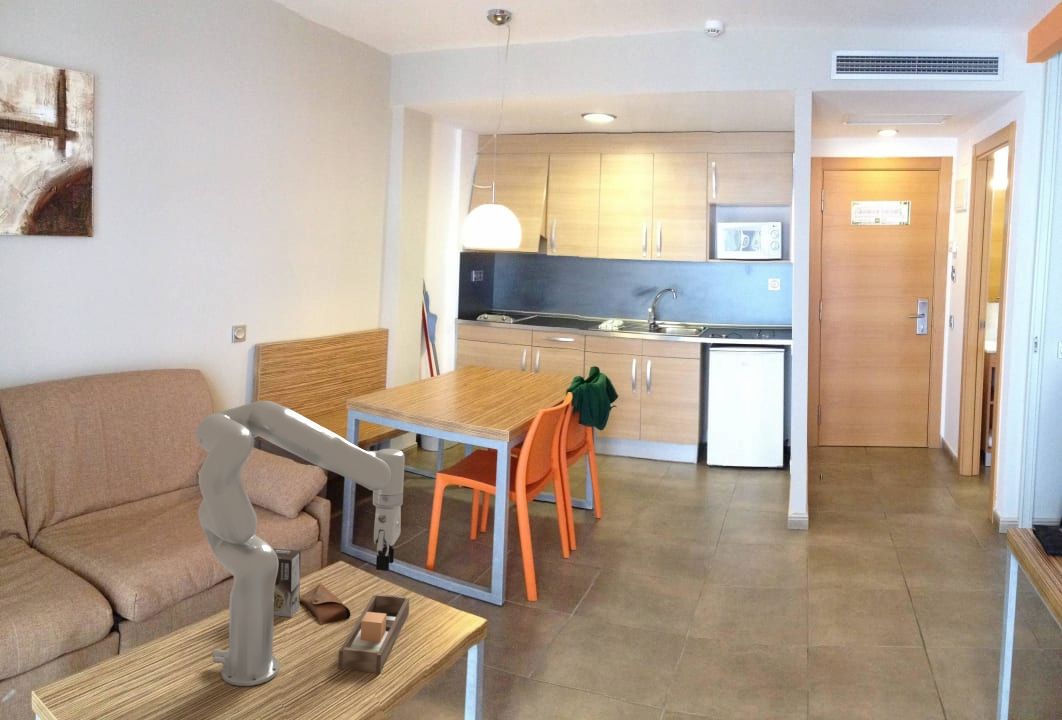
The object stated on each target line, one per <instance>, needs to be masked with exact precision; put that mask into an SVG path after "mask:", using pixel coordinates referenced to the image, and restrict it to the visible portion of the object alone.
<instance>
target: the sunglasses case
mask: <svg viewBox="0 0 1062 720" xmlns="http://www.w3.org/2000/svg"><path fill="white" fill-rule="evenodd" d="M300 604H302V606H304V607H305V608H306V610H308V611H309V612H310V613H311V614H312V616H314V618H315V619H316V620H317V622H318V623H319V625H322V626H323V625H327V624H330V623H335V622H339V621H342V620H346V619H347V620H348V619H349V618H351V611H350V609H349V608H348V607H347V606H346V605H345V604H344V603H343V601H342V600H340V599H339V598H338V596H336V595H335V594H334V593H333V592H331V590H329V589H328V588H326V587H325V586H324V585H323V584H322V583H321V582H319V584H317V585H316V586H315V587H313V588H312V589H310V590H309V591H307V592H306V593H304V594H303V595H302V596H301V595H300Z"/></svg>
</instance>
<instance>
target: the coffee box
mask: <svg viewBox="0 0 1062 720" xmlns="http://www.w3.org/2000/svg"><path fill="white" fill-rule="evenodd" d="M272 548H273V547H272ZM273 549H274V551H275V552H276V554H277V557H278V562H279V564H278V572H277V577H276V582H275V589H274V616H277V617H287V618H292V617H293V616H294V615H295V613H296V612H298V610H299V609H300V608H301V606H300V604H301V603H300V597H301V594H300V593H301V558H302V557H301V550H294V549H292V550H291V549H283V548H282V549H281V548H273Z"/></svg>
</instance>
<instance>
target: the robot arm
mask: <svg viewBox="0 0 1062 720" xmlns="http://www.w3.org/2000/svg"><path fill="white" fill-rule="evenodd" d="M195 430H196V431H195V440H196V441H197V443H198V445H199V446H200V448H202V449H203V450H204V451H206V452H208V454H207V456H206V457H205V459H204V461H203V463H202V465H201V468H200V470H199V474H198V486H199V489H200V493H201V496H202V498H203V499H202V500H201V502H200V504H199V508H198V520H199V525H200V526H201V529H202V531H203V533H204V535H205V537H206V539H207V542H208V545H209V547H210V549H211V550H212V553H213V554H214V557H215V558H216V560H217V561H218V563H219V564H220V565H222V567H223V568H225V569H226V570H227V571H228V572H229V573H230V574H232V576H233V585H232V588H231V591H230V596H229V607H228V608H229V609H228V610H229V619H228V620H229V622H228V623H229V624H228V625H229V628H228V629H229V630H228V631H229V633H228V649H227V650H226V649H225V650H224V649H219V648H215V649H214V650H213V651H212V658H213V659H212V663H215V664H222V665H223V666H222V668H221V674H220V675H221V678H222V679H223V681H225V682H226V683H227V684H230V685H233V686H239V687H251V686H256V685H261V684H264V683H266V682H269V681H271V680H272V679H273V678H274V677H276V676H277V675H278V673H279V671H280V662H279V660H278V659H277V657H275V656H274V650H273V649H274V621H275V620H274V619H275V618H274V616H275V615H274V589H275V582H276V577H277V572H278V564H279V562H278V557H277V554H276V552H275V551H274V549H275V548H274V549H273V547H272V546H271V545H270V544H269V543H267V542H266V541H265V540H263V539H262V538H260V537H258V536H257V535H256V533H257V529H258V517H257V512H256V511H255V509H254V507H253V505H252V502H251V500H250V497H249V495H248V492H247V491H246V488H245V485H244V481H243V479H242V472H243V468H244V465H245V464H246V462H247V461H248V459H249V457H250V456H251V454H252V452H253V449H254V443H255V442H254V441H255V440H254V439H255V438H258V437H260V438H262V439H264V440H266V441H267V442H269V443H270V444H273V445H275V446H277V447H279V448H281V449H283V450H285V451H287V452H289V453H291V454H293V455H295V456H297V457H299V458H301V459H303V460H304V461H308V462H309V463H311V464H313V465H316V466H318V467H319V468H322V469H324V470H327V471H330V472H333V473H335V474H338V475H340V476H342V477H344V478H346V479H348V480H350V481H352V482H354V483H356V484H358V485H360V486H362V487H364V488H366V489H368V490H369V491H372V505H373V506H375V514H374V515H375V516H374V525H373V526H374V527H373V543H374V544H375V545H376V563H375V570H377V571H384V572H385V571H386V572H387V571H389V569H390V564H393V563H394V559H395V557H394V555H395V543H396V542H397V540H398V539H399V538H400V536H401V531H402V529H401V527H402V523H401V522H402V521H401V519H402V518H401V517H402V512H401V509H402V508H401V506H402V505H403V503H404V502H403V501H404V482H405V481H404V480H405V479H404V478H405V460H406V457H405V453H404V452H403V451H401V450H400V449H396V448H383V449H379V450H364V449H362V448H361V447H359V446H357V445H355V444H353V443H351V442H349V441H348V440H346V439H345V438H343V437H341V436H340V435H339V434H336V433H335V432H333V431H332V430H330V429H328V428H326V427H324V426H322V425H320V424H318V423H316V422H315V421H313V420H311V419H309V418H307V417H305V415H304V416H303V415H302V414H300V413H298V412H296V411H295V410H292V409H291V408H289V407H287V406H284V405H282V404H279V403H276V402H275V401H271V400H258V401H254V402H249V403H247V404H243V405H240V406H236V407H234V408H229V409H228V408H227V409H225V410H221V411H218V412H215V413H212V414H210V415H208V416H206V417H205V418H203V419H202V420H201V421H200V422H199V424H198V425H197V427H196V429H195Z"/></svg>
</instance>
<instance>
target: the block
mask: <svg viewBox="0 0 1062 720" xmlns="http://www.w3.org/2000/svg"><path fill="white" fill-rule="evenodd" d="M385 633H386V614H385V613H375V612H366V614H365V616H364V617H363V619H362V621H361V640H365V641H375V642H381V640H382V638H383V636H384V635H385Z"/></svg>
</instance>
